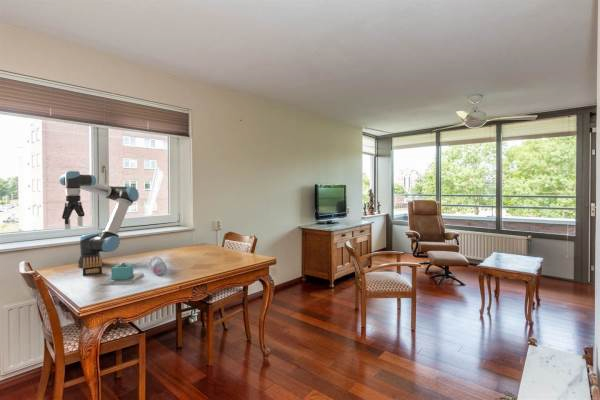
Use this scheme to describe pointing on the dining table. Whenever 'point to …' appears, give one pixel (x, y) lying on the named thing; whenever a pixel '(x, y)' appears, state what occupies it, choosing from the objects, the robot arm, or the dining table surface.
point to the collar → (122, 271)
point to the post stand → (122, 281)
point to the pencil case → (158, 265)
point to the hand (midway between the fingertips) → (74, 227)
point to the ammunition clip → (94, 270)
